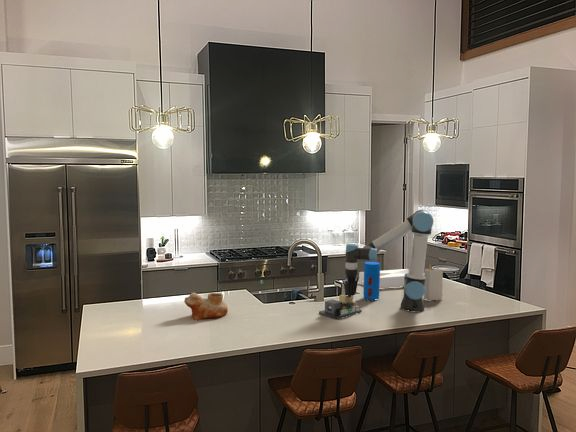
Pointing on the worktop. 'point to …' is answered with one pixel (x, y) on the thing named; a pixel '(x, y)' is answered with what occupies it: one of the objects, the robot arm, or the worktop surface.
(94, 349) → the worktop surface
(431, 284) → the beige tall box
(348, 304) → the pointer
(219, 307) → the ceramic vessel
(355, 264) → the robot arm
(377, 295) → the thermos
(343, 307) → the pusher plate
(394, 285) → the bread box
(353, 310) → the circuit board
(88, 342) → the worktop surface
